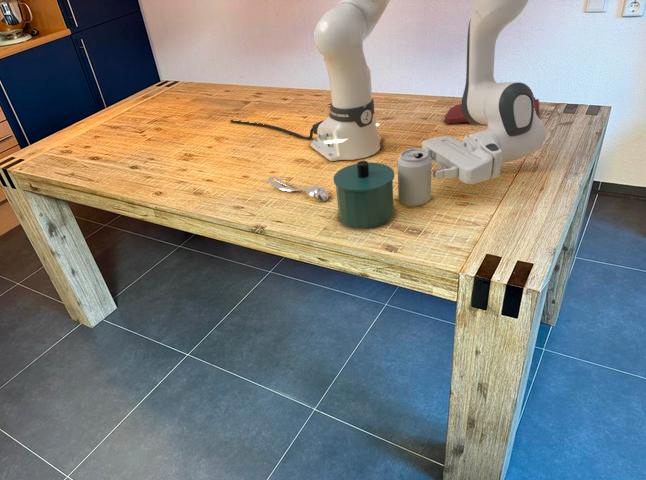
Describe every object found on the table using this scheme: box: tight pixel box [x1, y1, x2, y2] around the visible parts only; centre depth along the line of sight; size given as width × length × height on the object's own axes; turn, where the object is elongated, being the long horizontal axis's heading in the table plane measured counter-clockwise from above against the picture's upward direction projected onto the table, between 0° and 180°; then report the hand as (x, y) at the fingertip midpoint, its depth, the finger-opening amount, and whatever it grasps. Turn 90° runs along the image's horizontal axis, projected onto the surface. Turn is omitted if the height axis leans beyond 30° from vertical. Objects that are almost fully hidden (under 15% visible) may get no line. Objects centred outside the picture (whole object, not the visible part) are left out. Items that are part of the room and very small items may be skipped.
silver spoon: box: [267, 176, 329, 202], centre depth 132 cm, size 20×4×5 cm
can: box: [397, 147, 433, 207], centre depth 117 cm, size 8×8×12 cm
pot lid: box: [333, 160, 395, 192], centre depth 112 cm, size 13×13×4 cm
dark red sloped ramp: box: [444, 96, 540, 125], centre depth 152 cm, size 12×5×25 cm
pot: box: [335, 179, 395, 229], centre depth 116 cm, size 12×12×10 cm
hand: (424, 167), depth 116 cm, fingers open, 8 cm apart
